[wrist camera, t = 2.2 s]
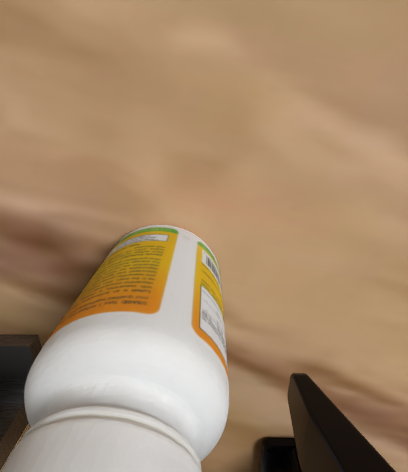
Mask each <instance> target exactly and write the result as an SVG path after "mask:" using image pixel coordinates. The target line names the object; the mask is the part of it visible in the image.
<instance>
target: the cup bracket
mask: <svg viewBox="0 0 408 472" xmlns="http://www.w3.org/2000/svg"><path fill="white" fill-rule="evenodd" d="M41 349H42V348H41V345H40V341H39V337H38V335H0V470H1V468H2V467H3V465H4V463H5V461H6V460H7V458H8V456H9V455H10V453H11V451H12V450H13V448H14V446H15V444H16V443H17V441H18V439H19V438H20V436H21V434H22V432H23V431H24V429H25V427H26V426H27V424H28V419H27V415H26V411H25V403H24V390H25V384H26V380H27V376H28V373H29V371H30V368H31V366H32V364H33V362H34V360H35V359H36V357H37V356H38V354H39V352H40V351H41Z"/></svg>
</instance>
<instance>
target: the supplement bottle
mask: <svg viewBox="0 0 408 472" xmlns="http://www.w3.org/2000/svg"><path fill="white" fill-rule="evenodd" d="M24 403H25V411H26V415H27V419H28V422H29V425H30V427H31V428H30V429H29V430H28V431H26V433H25V434H24V435H23V437H22V439H21V440H20V443H19V444H18V445H17V446H16V447H15V449H14V450H13V451H12V453H11V455H10V457H9V458H8V460H7V462H6V464H5V466H4V468H3V469H2V471H1V472H201V464H200V462H201V461H202V460H203V459H204V458H205V457H206V456H207V455H208V454H209V453H210V452H211V451H212V450H213V448H214V447H215V445H216V444H217V442H218V441H219V439H220V437H221V435H222V433H223V430H224V428H225V424H226V421H227V416H228V409H229V381H228V368H227V356H226V342H225V330H224V317H223V303H222V290H221V279H220V272H219V267H218V263H217V260H216V258H215V256H214V254H213V253H212V251H211V249H210V248H209V247H208V246H207V244H206V243H205V242H204V241H203V240H201V239H200V238H199V237H198V236H196V235H195V234H193V233H191V232H189V231H187V230H185V229H182V228H179V227H175V226H170V225H151V226H145V227H142V228H139V229H136V230H134V231H132V232H130V233H129V234H127V235H126V236H124V237H123V238H122V239H121V240H120V241H119V242H118V243H117V244H116V245H115V246H114V248H113V249H112V250H111V252H110V253H109V254H108V256H107V257H106V259H105V260H104V261H103V263H102V264H101V266H100V267H99V268H98V270H97V271H96V273H95V274H94V275H93V277H92V278H91V280H90V281H89V282H88V284H87V285H86V287H85V288H84V290H83V291H82V292H81V294H80V295H79V297H78V298H77V299H76V301H75V302H74V304H73V305H72V306H71V308H70V309H69V310H68V312H67V313H66V314H65V316H64V317H63V318H62V320H61V321H60V323H59V324H58V325H57V327H56V329H55V330H54V331H53V332H52V334H51V335H50V337H49V338H48V340H47V341H46V343H45V344H44V346H43V347H42V349H41V351H40V352H39V354H38V356H37V357H36V359H35V360H34V362H33V364H32V366H31V368H30V371H29V373H28V376H27V380H26V384H25V390H24Z"/></svg>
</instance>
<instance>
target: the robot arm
mask: <svg viewBox="0 0 408 472" xmlns="http://www.w3.org/2000/svg"><path fill="white" fill-rule="evenodd" d="M288 404H289V409H290V415H291V420H292V426H293V431H294V437H295V439H267V440H265V441H263V443H262V449H261V456H260V464H259V471H258V472H396V471H395V470H394V469H393V468H392V467H391V466H390V465H389V464H388V463H387V462H386V460H385V459H384V458H383V457H382V456H381V455H380V454H379V453H378V452H377V451H376V450H375V448H374V447H373V446H372V445H371V444H370V443H369V442H368V441H367V440H366V439H365V437H364V436H363V435H362V434H361V433H360V432H359V431H358V430H357V429H356V428H355V427H354V425H353V424H352V423H351V422H350V421H349V420H348V419H347V418H346V417H345V416H344V414H343V413H342V412H341V411H340V410H339V409H338V408H337V407H336V406H335V405H334V404H333V402H332V401H331V400H330V399H329V398H328V397H327V396H326V395H325V394H324V393H323V392H322V390H321V389H320V388H319V387H318V386H317V385H316V384H315V383H314V382H313V381H312V379H311V378H310V377H309V376H308V375H307V374H305V373H292V374H291V377H290V382H289V388H288Z"/></svg>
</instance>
